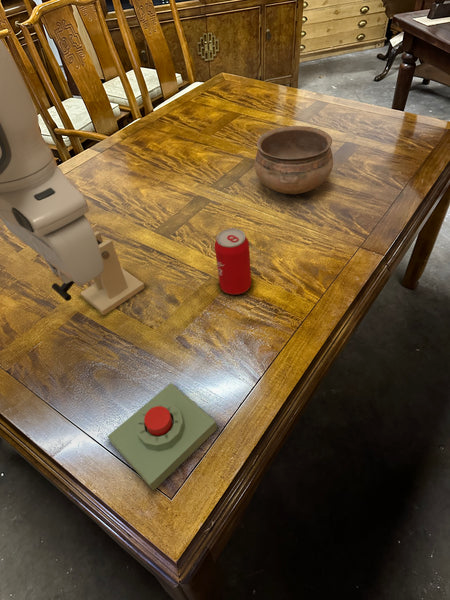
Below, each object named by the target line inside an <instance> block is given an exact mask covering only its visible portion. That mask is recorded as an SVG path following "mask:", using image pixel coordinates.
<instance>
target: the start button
mask: <svg viewBox="0 0 450 600" xmlns="http://www.w3.org/2000/svg"><path fill="white" fill-rule="evenodd" d="M144 422H145V425H146V427H147V430H148V431H149V433H151V434H152V435H156V436H160V435H163V434H165V433H167V432H168V431H169V430H170V428H171V426H172V418H171V415H170V413H169V411H168V410H167V409H166V408H165V407H162V406H157V407H153V408H151V409H150V410H149V411H148V412H147V413H146V415H145V418H144Z"/></svg>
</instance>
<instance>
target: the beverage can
mask: <svg viewBox="0 0 450 600" xmlns="http://www.w3.org/2000/svg"><path fill="white" fill-rule="evenodd" d="M214 253H215V260H216V267H217V275H218V281H219V282H218V283H219V287H220V289H221V290H222V292H224V293H226V294H229V295H240V294H244V293H246V292H247V291H248V290H249V289H250V288H251V286H252V272H251V271H252V270H251V257H250V242H249V239H248V237H247V236H246V234H245V232H244V231H243V230H241V229H239V228H226V229H223V230H221V231H220V232H219V233H218V234H217V235H216V239H215V241H214Z"/></svg>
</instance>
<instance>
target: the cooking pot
mask: <svg viewBox="0 0 450 600" xmlns="http://www.w3.org/2000/svg"><path fill="white" fill-rule="evenodd" d="M332 144H333V138H332V137H331V135H330V134H329V133H328V132H327V131H325V130H322V129H319V128H317V127H312V126H307V125H288V126H282V127H277V128H274V129H271V130H269V131H266V132H265V133H262V135H260V136H259V138H258V139H257V141H256V146H257V151H256V155H255V158H254V170H255V173H256V177H258V179H259V181H260V182H261V184H263V185H264V186H265V187H267V188H268V189H270V190H272V191H274V192H277V193H280V194H285V195H290V196H296V195H300V194H304V193H307V192H311V191H313V190H315V189H317V188H318V187H320V186H322V185H323V184H324V182H326V181H327V179H328V178H329V177H330V175H331V173H332V171H333V167H334V156H333V150H332V147H331V146H332Z"/></svg>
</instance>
